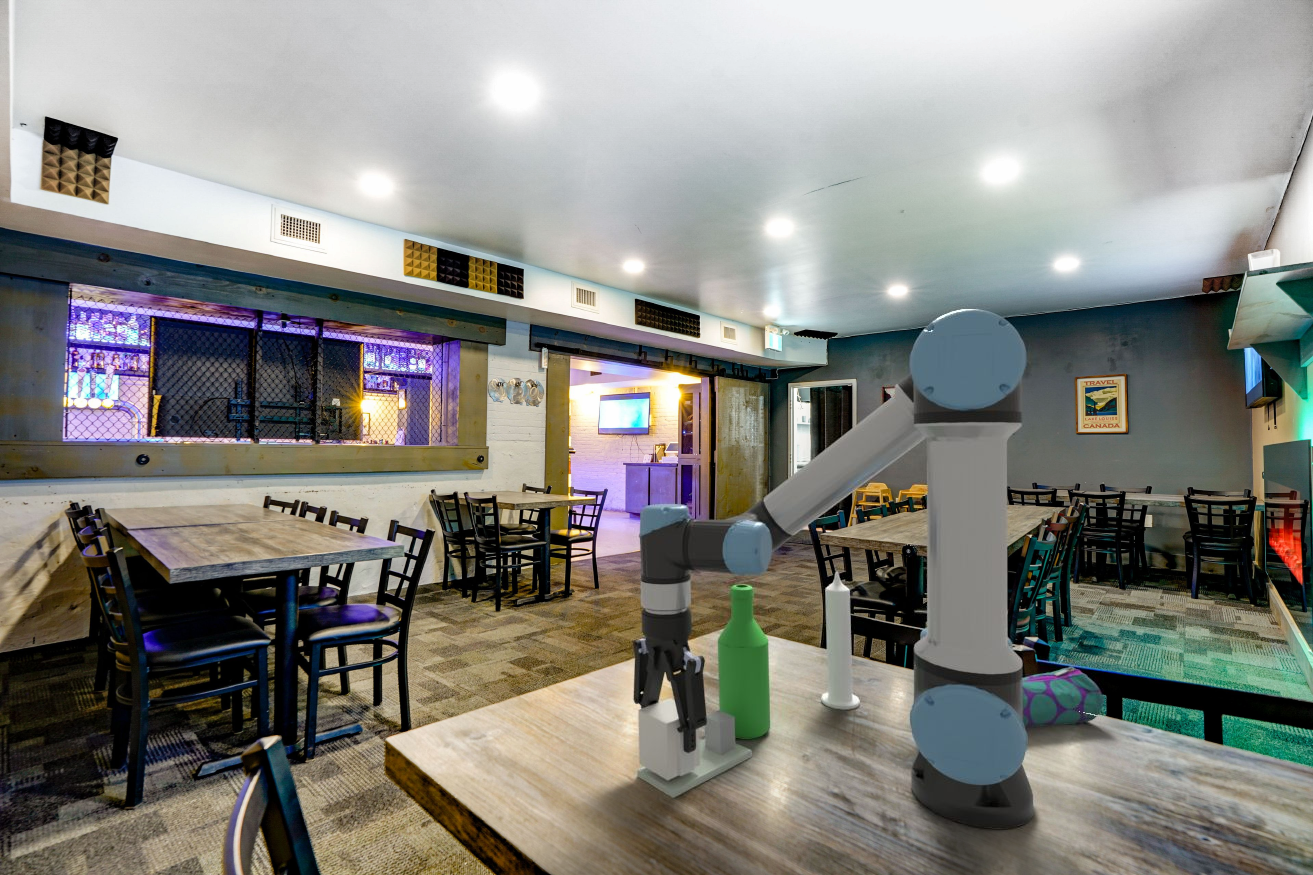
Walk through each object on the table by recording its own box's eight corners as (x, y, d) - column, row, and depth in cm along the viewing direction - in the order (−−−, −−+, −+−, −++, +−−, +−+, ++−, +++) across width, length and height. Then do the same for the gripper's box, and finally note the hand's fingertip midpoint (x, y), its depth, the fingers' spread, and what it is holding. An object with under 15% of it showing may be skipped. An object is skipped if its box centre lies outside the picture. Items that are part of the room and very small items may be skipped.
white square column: (699, 764, 91) (698, 710, 91) (667, 780, 87) (666, 723, 87) (670, 749, 96) (669, 697, 96) (639, 763, 92) (638, 709, 92)
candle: (863, 699, 119) (860, 570, 119) (854, 712, 113) (850, 576, 113) (827, 692, 123) (824, 567, 123) (816, 704, 117) (813, 573, 117)
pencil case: (1061, 708, 113) (1060, 655, 114) (1105, 729, 105) (1103, 672, 105) (962, 719, 109) (961, 665, 110) (999, 742, 101) (997, 684, 101)
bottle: (769, 743, 102) (766, 592, 102) (717, 739, 104) (714, 591, 104) (770, 720, 111) (767, 581, 111) (722, 716, 112) (719, 580, 113)
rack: (751, 756, 98) (750, 718, 98) (673, 797, 86) (672, 755, 87) (715, 739, 104) (714, 703, 104) (637, 775, 92) (636, 735, 93)
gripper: (731, 615, 87) (734, 778, 87) (644, 593, 102) (647, 733, 101) (693, 625, 82) (697, 799, 82) (607, 601, 97) (610, 748, 96)
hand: (669, 762), depth 91 cm, fingers closed on white square column, 6 cm apart
